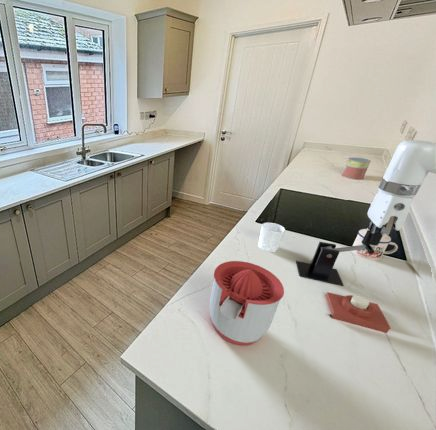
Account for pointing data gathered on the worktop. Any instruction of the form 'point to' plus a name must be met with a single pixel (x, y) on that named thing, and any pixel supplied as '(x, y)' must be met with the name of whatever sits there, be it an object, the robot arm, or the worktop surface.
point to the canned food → (356, 168)
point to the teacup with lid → (373, 246)
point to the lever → (353, 248)
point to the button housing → (357, 313)
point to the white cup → (270, 236)
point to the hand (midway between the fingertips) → (369, 243)
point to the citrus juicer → (243, 301)
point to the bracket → (321, 265)
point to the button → (359, 302)
